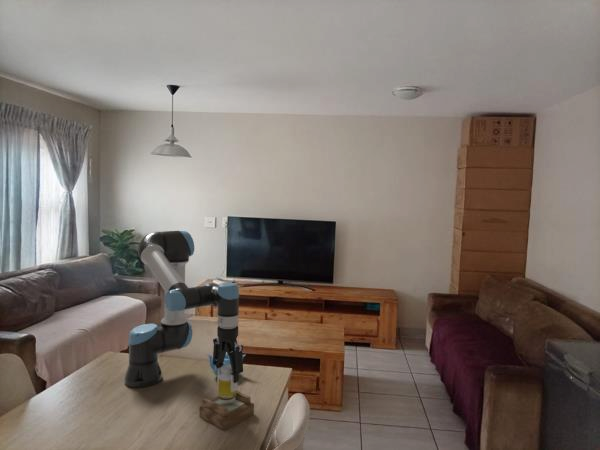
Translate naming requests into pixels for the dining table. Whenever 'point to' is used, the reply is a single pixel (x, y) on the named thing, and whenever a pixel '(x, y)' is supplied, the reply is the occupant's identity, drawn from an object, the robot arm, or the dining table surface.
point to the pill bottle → (225, 384)
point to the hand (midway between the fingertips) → (227, 387)
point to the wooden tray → (227, 410)
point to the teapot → (226, 362)
